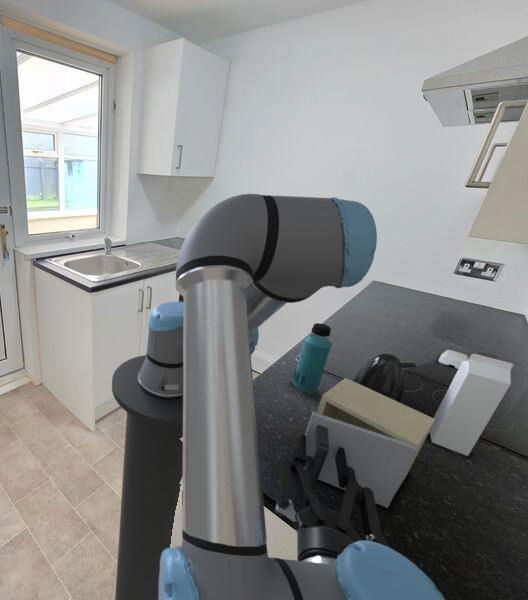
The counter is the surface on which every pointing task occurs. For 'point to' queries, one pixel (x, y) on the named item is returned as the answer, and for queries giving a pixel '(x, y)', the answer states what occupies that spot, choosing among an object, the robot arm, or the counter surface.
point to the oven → (375, 414)
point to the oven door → (356, 456)
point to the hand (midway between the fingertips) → (320, 446)
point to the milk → (470, 402)
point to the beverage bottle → (312, 359)
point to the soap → (452, 358)
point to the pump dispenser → (384, 375)
